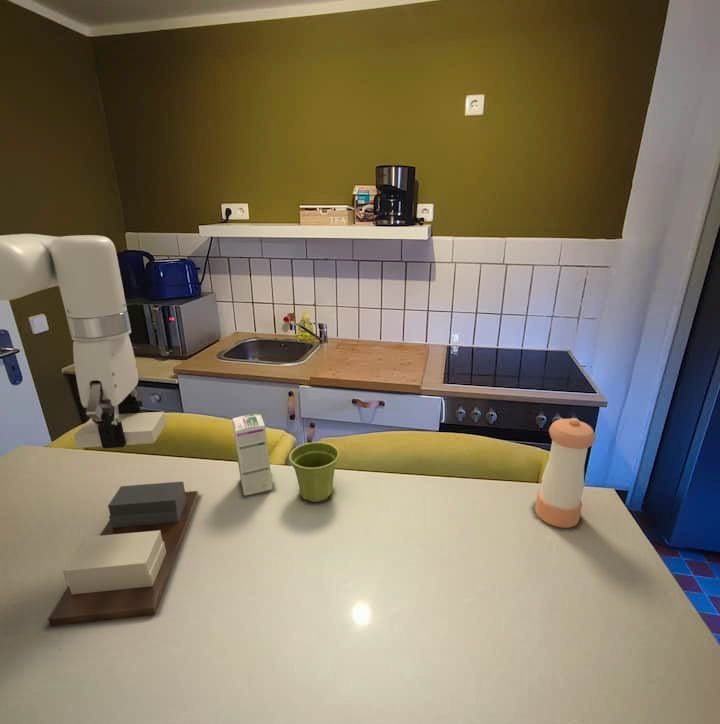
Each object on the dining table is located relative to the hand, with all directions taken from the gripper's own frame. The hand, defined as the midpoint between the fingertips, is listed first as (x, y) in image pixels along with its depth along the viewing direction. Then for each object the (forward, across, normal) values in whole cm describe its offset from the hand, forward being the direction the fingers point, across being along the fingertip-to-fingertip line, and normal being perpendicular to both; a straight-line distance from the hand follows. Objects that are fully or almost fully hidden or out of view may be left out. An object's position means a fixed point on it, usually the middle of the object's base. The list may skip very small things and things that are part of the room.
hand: (123, 433), depth 68 cm
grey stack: (+18, -3, +1) cm, 18 cm away
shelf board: (+19, +4, 0) cm, 19 cm away
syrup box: (+19, -10, +18) cm, 28 cm away
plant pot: (+19, -6, +30) cm, 36 cm away
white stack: (+18, +10, 0) cm, 21 cm away
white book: (0, 0, 0) cm, 0 cm away
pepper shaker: (+18, +6, +73) cm, 75 cm away
